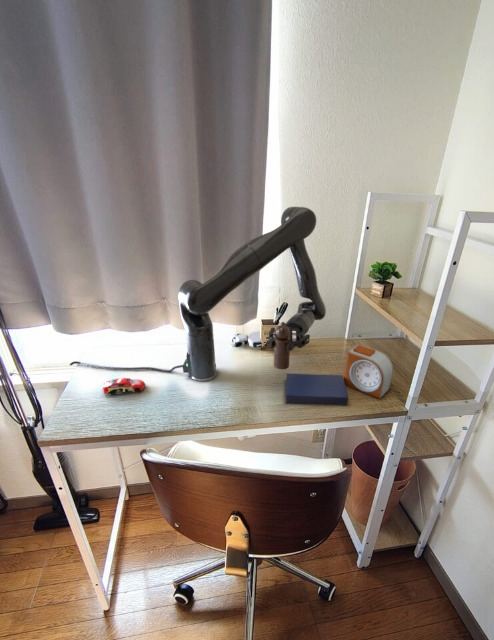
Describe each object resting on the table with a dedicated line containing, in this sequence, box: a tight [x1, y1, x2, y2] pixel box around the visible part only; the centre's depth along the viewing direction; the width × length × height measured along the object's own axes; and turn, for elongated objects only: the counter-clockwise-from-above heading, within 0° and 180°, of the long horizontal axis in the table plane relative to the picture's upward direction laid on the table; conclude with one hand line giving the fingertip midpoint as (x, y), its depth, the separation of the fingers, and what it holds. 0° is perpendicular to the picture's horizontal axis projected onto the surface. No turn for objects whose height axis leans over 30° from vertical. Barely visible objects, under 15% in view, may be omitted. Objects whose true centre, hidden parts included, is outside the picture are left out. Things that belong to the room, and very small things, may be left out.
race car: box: [102, 377, 146, 396], centre depth 123 cm, size 13×5×4 cm, turn 103°
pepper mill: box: [273, 321, 291, 370], centre depth 117 cm, size 5×5×14 cm
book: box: [285, 372, 349, 406], centre depth 126 cm, size 20×14×3 cm
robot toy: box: [230, 331, 266, 350], centre depth 154 cm, size 12×4×15 cm
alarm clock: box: [343, 344, 394, 399], centre depth 128 cm, size 15×8×14 cm, turn 53°
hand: (279, 347), depth 115 cm, fingers closed on pepper mill, 5 cm apart
